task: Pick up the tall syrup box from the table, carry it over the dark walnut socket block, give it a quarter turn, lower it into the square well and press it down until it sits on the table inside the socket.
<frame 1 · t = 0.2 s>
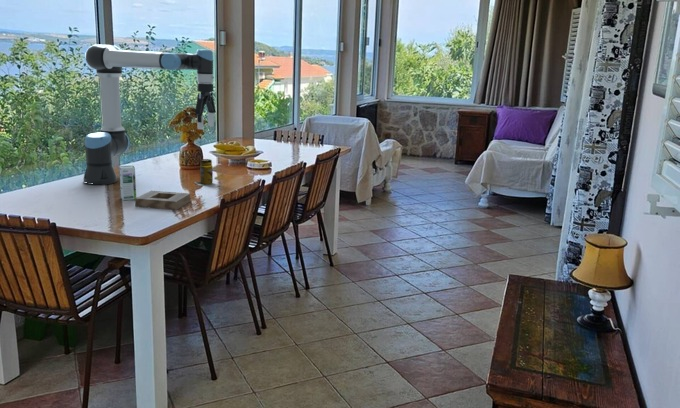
hand: (205, 127, 288), 28 cm above the table, fingers open, 13 cm apart
condiment: (204, 184, 295), on the table
walnut socket block: (163, 203, 254), on the table
syrup box: (128, 199, 260), on the table
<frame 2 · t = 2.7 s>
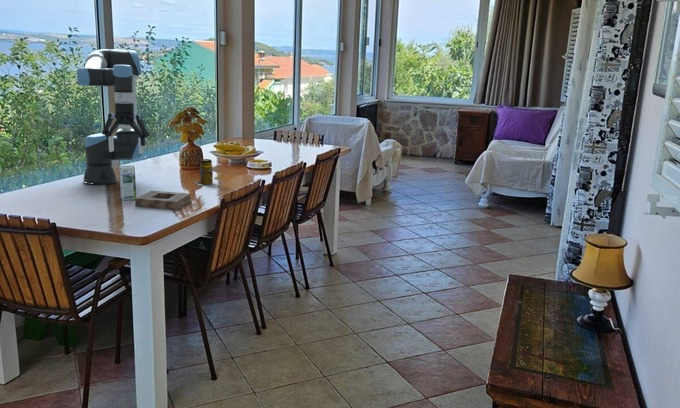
hand: (126, 152, 255), 20 cm above the table, fingers open, 13 cm apart
nothing on the table moved.
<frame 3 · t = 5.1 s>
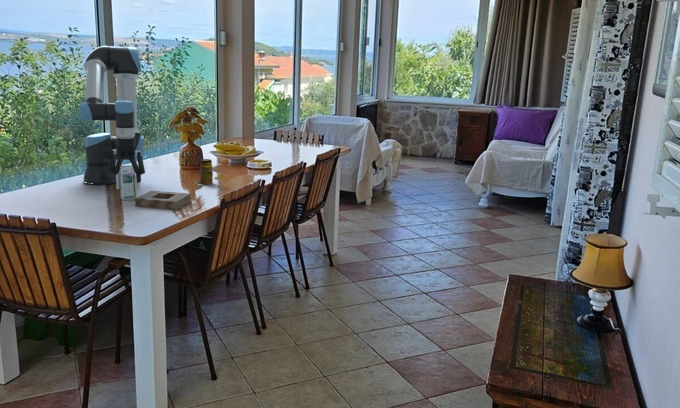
hand: (128, 189, 259), 4 cm above the table, fingers closed on syrup box, 8 cm apart
syrup box: (128, 198, 260), on the table, touching gripper
everything else where it was.
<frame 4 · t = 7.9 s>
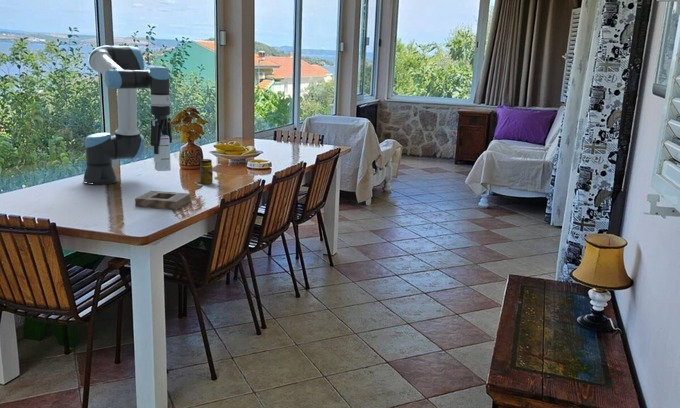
hand: (162, 159, 249), 19 cm above the table, fingers closed on syrup box, 8 cm apart
syrup box: (162, 170, 250), point 15 cm above the table, touching gripper
everything else where it was.
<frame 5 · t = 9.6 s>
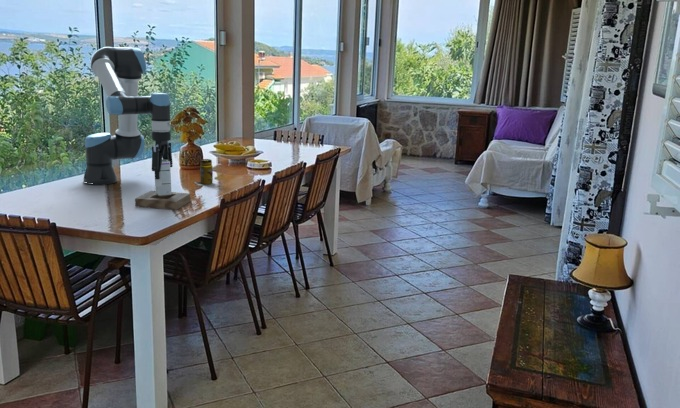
hand: (162, 184, 252), 9 cm above the table, fingers closed on syrup box, 8 cm apart
syrup box: (163, 194, 253), point 4 cm above the table, touching gripper
everything else where it was.
when the fingers open (6 cm above the table, at t = 10.9 s): syrup box drops 1 cm, resting in walnut socket block.
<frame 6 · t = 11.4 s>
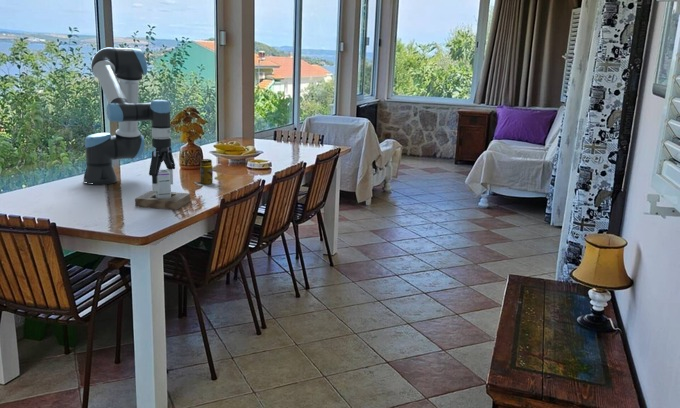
hand: (163, 187, 252), 7 cm above the table, fingers open, 13 cm apart
syrup box: (163, 204, 254), resting in walnut socket block
everything else where it was.
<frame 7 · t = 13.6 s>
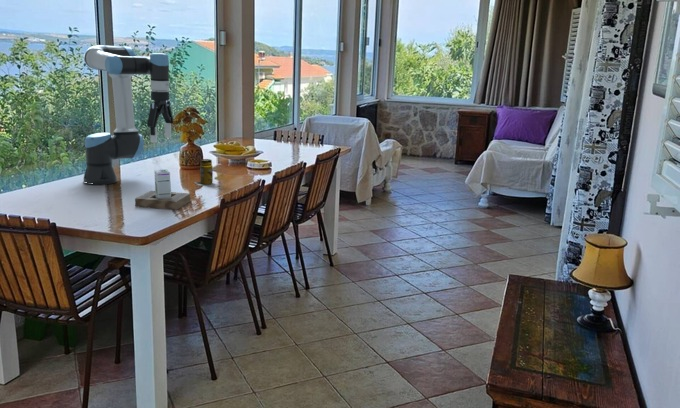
hand: (161, 140, 258), 26 cm above the table, fingers open, 13 cm apart
nothing on the table moved.
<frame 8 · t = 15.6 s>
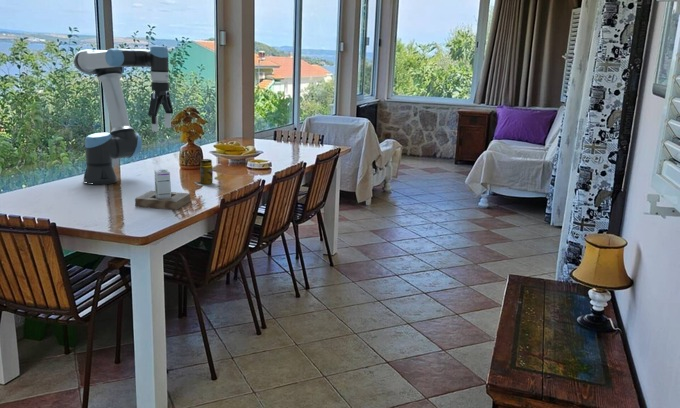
hand: (161, 129, 269), 29 cm above the table, fingers open, 13 cm apart
nothing on the table moved.
at the end: syrup box inside the target area on the walnut socket block (0.2 cm from its centre), point 0.0 cm above the walnut socket block's base; syrup box tilted 0°; the gripper is holding nothing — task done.
